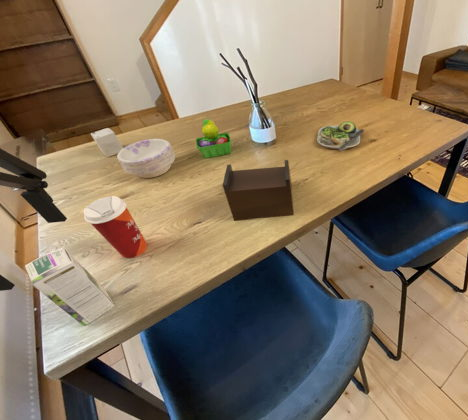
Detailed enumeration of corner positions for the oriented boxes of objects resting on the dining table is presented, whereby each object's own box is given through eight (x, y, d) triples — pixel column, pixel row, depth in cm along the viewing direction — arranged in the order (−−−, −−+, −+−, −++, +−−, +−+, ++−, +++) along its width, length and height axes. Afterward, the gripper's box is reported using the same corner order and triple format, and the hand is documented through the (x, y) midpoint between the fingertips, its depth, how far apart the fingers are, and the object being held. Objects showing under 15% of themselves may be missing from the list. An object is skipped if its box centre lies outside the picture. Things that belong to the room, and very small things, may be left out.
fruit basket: (201, 161, 96) (190, 131, 88) (199, 149, 102) (189, 119, 94) (234, 154, 99) (226, 124, 91) (231, 143, 105) (223, 114, 97)
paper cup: (157, 248, 67) (128, 205, 57) (123, 267, 63) (86, 224, 53) (144, 232, 71) (116, 189, 61) (111, 249, 67) (75, 206, 57)
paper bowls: (154, 154, 99) (145, 134, 94) (188, 162, 95) (180, 141, 89) (117, 177, 89) (104, 156, 83) (153, 188, 84) (142, 166, 79)
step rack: (293, 215, 75) (289, 179, 67) (233, 220, 74) (222, 185, 66) (291, 182, 86) (287, 148, 78) (239, 186, 85) (229, 152, 76)
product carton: (125, 151, 101) (114, 132, 96) (107, 157, 98) (95, 138, 93) (119, 145, 104) (108, 127, 99) (101, 151, 101) (89, 133, 96)
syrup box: (74, 309, 55) (20, 266, 45) (106, 289, 59) (62, 245, 49) (84, 327, 53) (29, 285, 43) (117, 305, 56) (72, 261, 46)
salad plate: (363, 155, 97) (364, 144, 94) (313, 153, 99) (312, 141, 96) (363, 130, 112) (364, 119, 108) (320, 128, 113) (319, 117, 110)
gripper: (-225, 197, 21) (3, 324, 35) (9, 83, 39) (95, 198, 53) (-348, 206, 20) (-63, 332, 34) (-51, 86, 38) (53, 201, 52)
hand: (33, 250), depth 44 cm, fingers open, 13 cm apart
